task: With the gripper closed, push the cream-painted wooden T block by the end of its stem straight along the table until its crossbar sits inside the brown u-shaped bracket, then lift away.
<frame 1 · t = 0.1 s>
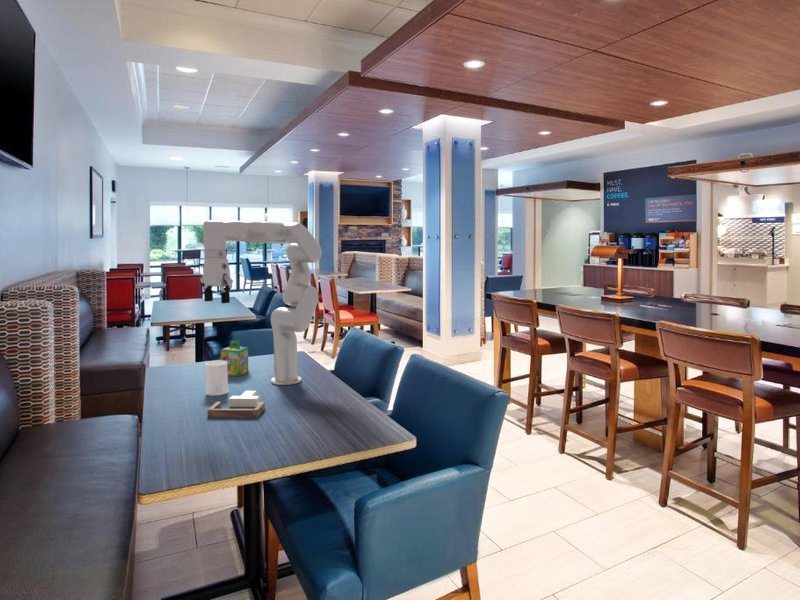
hand: (217, 302, 191), 37 cm above the table, tool pointing down, fingers open, 9 cm apart
brown u-shaped bracket: (237, 412, 182), on the table
t block: (247, 402, 194), on the table
chalk box: (235, 373, 235), on the table
mug: (217, 394, 204), on the table
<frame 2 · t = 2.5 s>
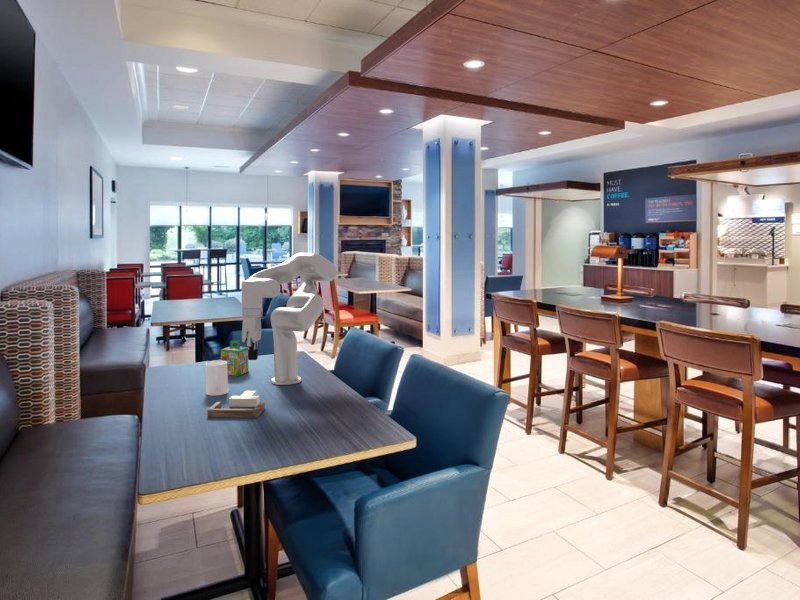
hand: (253, 359, 202), 14 cm above the table, tool pointing down, fingers closed
nothing on the table moved.
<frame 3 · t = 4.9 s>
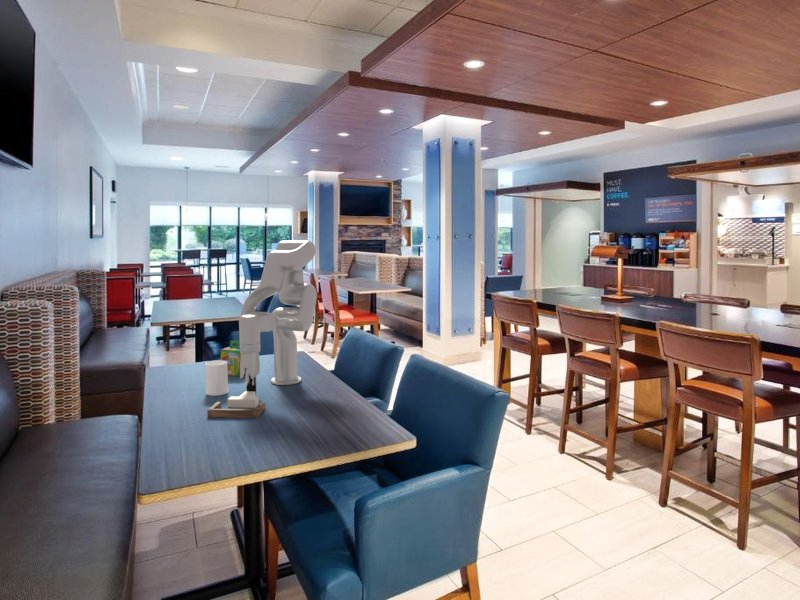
hand: (251, 394, 199), 1 cm above the table, tool pointing down, fingers closed
t block: (246, 403, 193), on the table, touching gripper
everything else where it was.
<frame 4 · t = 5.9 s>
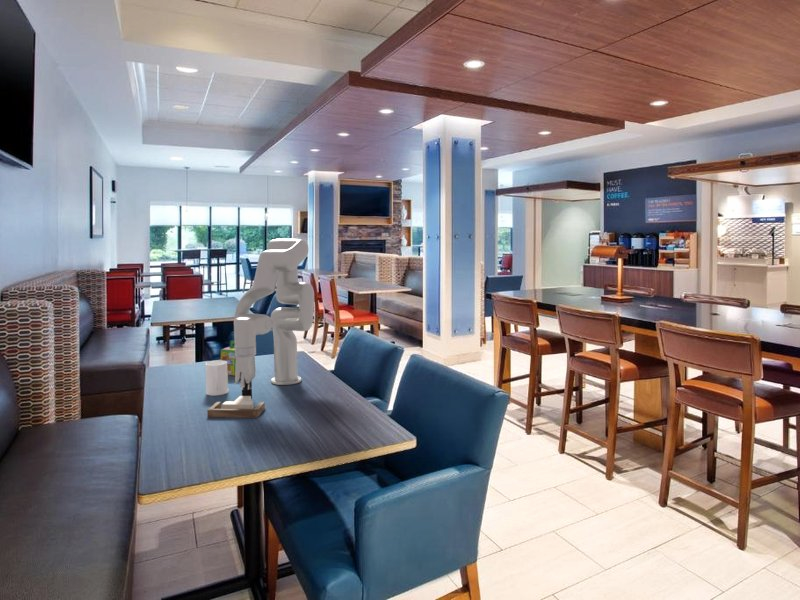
hand: (247, 399, 194), 1 cm above the table, tool pointing down, fingers closed
t block: (241, 408, 187), on the table, touching gripper
everything else where it was.
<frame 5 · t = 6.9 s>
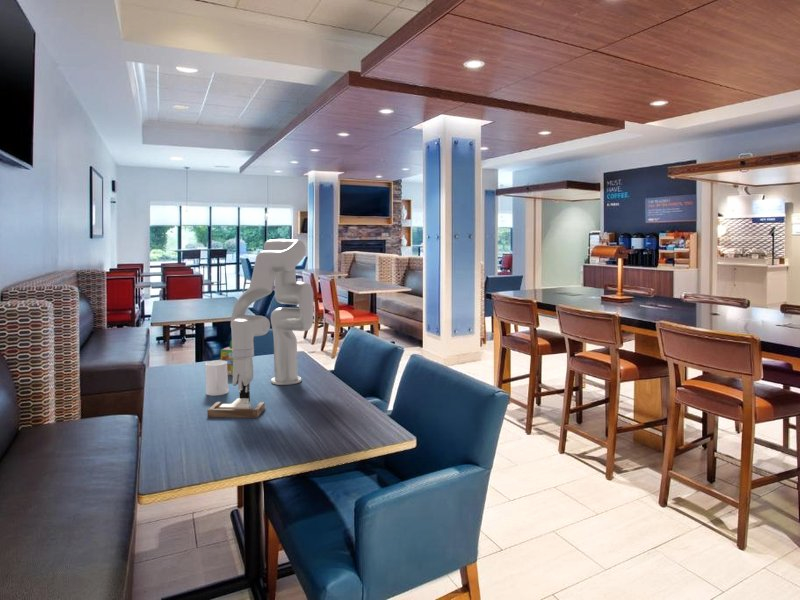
hand: (244, 402, 191), 1 cm above the table, tool pointing down, fingers closed
t block: (238, 410, 184), on the table, touching gripper
everything else where it was.
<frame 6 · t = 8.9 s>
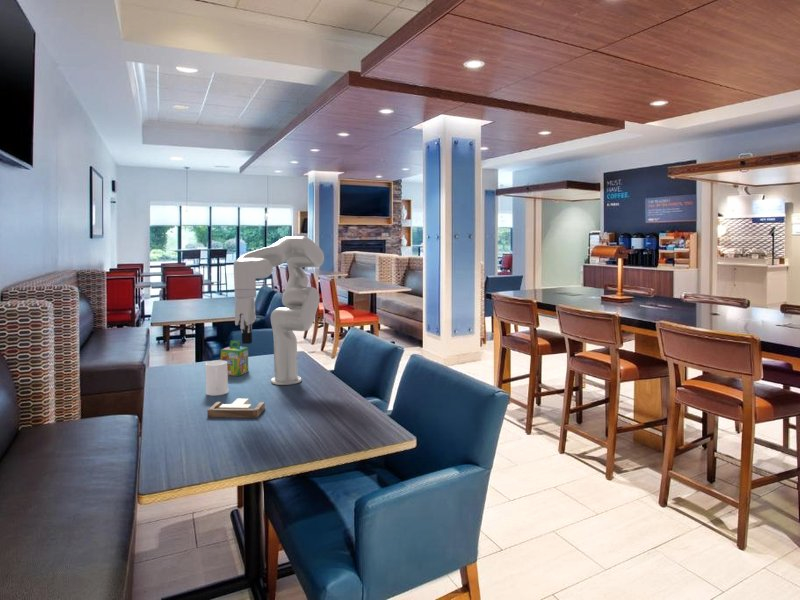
hand: (247, 343, 193), 22 cm above the table, tool pointing down, fingers closed
t block: (238, 411, 184), on the table
everything else where it was.
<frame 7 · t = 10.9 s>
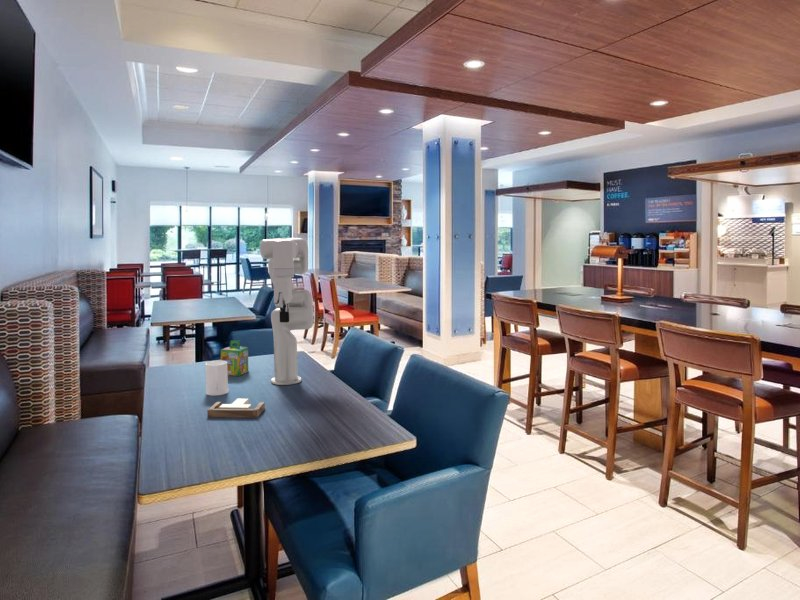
hand: (284, 321, 197), 29 cm above the table, tool pointing down, fingers closed
nothing on the table moved.
at the end: t block inside the target area on the brown u-shaped bracket (0.5 cm from its centre), point 0.0 cm above the brown u-shaped bracket's base; t block moved 9.8 cm from its start; t block tilted 0° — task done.
